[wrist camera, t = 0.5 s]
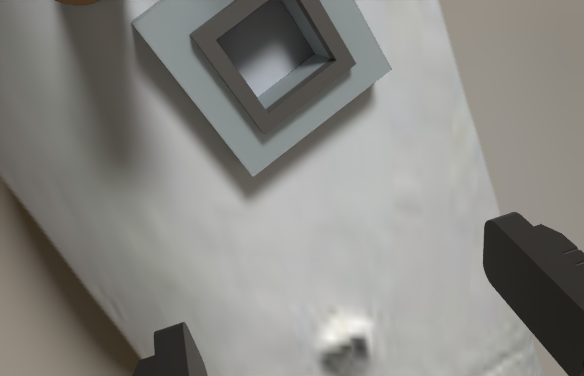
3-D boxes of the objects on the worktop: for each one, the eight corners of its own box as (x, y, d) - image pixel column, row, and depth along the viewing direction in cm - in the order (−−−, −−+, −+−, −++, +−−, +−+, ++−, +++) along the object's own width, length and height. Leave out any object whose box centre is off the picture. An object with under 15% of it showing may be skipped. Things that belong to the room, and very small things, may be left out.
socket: (131, 21, 32) (133, 26, 29) (283, -94, 33) (305, -104, 29) (243, 163, 38) (256, 182, 34) (372, 63, 38) (399, 71, 35)
